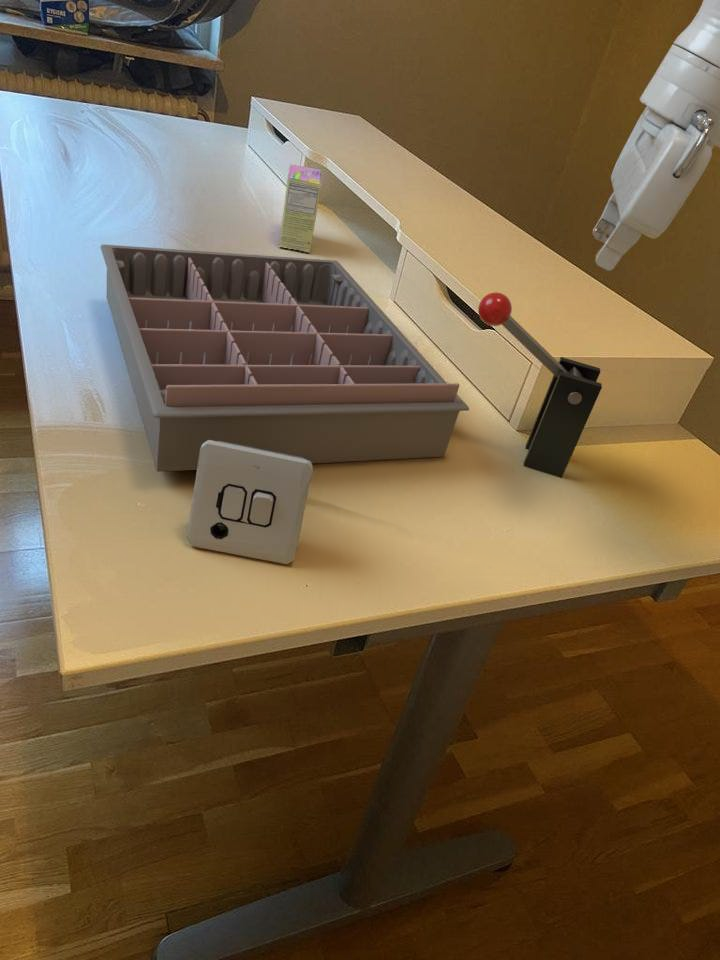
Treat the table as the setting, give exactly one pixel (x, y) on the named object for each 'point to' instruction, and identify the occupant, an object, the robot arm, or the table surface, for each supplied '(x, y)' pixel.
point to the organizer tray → (270, 359)
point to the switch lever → (518, 330)
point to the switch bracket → (562, 418)
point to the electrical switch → (248, 501)
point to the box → (300, 208)
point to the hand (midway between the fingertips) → (600, 251)
